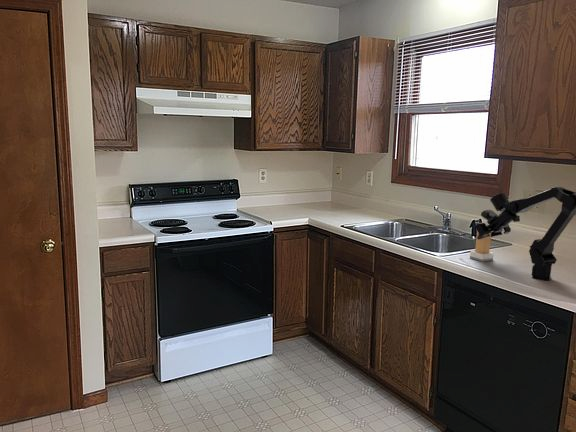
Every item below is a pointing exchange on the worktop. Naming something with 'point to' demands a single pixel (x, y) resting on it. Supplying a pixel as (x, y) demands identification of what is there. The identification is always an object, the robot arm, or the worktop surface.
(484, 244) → the plug
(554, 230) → the robot arm
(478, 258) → the socket
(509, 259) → the worktop surface
